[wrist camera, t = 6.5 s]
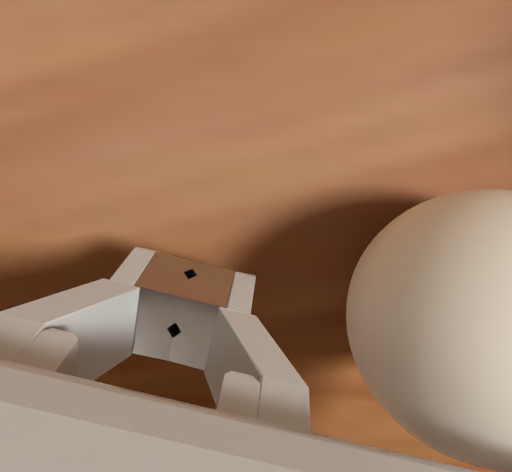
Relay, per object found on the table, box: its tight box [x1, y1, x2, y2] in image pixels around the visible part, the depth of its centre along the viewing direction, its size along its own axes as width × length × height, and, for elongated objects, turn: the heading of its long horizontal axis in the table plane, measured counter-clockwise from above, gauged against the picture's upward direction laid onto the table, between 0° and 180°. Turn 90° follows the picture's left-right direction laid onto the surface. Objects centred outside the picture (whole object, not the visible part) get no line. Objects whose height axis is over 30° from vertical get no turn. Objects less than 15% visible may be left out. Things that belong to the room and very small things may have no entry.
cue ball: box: [346, 189, 512, 472], centre depth 8 cm, size 6×6×6 cm
